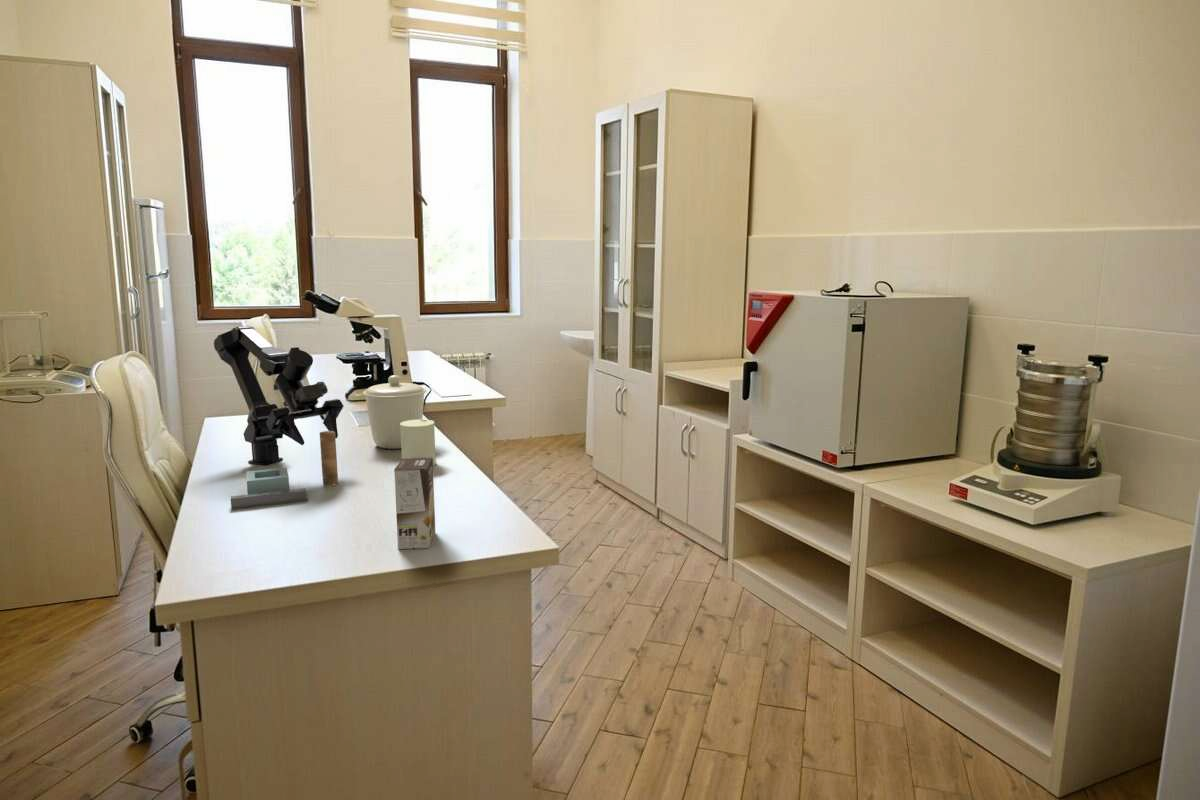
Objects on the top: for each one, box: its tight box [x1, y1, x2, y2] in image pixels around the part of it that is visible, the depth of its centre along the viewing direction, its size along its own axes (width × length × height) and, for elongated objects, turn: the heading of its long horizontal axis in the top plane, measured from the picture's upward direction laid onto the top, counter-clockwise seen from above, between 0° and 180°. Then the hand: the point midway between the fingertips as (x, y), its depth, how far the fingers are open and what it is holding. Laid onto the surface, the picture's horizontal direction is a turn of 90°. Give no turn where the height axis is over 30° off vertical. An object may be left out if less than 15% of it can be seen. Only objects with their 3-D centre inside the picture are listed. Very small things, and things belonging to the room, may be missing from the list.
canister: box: [362, 374, 427, 450], centre depth 236 cm, size 18×18×21 cm
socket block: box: [246, 467, 291, 495], centre depth 189 cm, size 9×9×5 cm
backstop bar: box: [230, 487, 308, 510], centre depth 182 cm, size 2×16×2 cm, turn 114°
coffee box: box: [393, 458, 436, 550], centre depth 158 cm, size 9×6×16 cm
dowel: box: [319, 430, 339, 486], centre depth 197 cm, size 4×4×13 cm
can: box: [400, 418, 437, 467], centre depth 215 cm, size 9×9×12 cm
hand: (320, 440), depth 199 cm, fingers open, 9 cm apart
